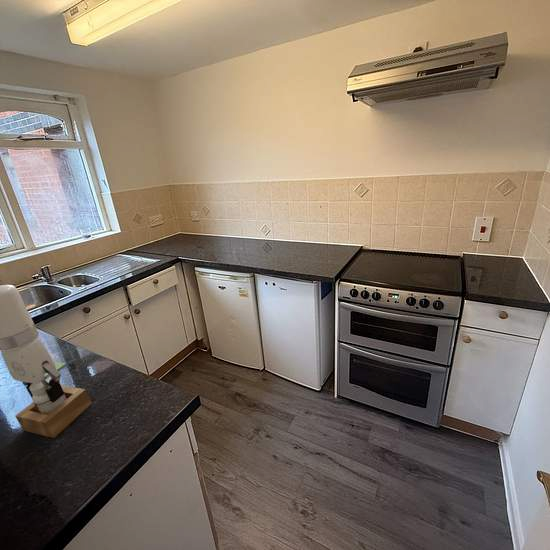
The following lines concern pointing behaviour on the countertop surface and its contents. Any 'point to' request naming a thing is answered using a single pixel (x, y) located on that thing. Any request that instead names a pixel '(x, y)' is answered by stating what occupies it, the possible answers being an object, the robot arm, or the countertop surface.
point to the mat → (57, 366)
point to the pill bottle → (44, 398)
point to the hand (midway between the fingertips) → (48, 395)
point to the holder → (55, 414)
